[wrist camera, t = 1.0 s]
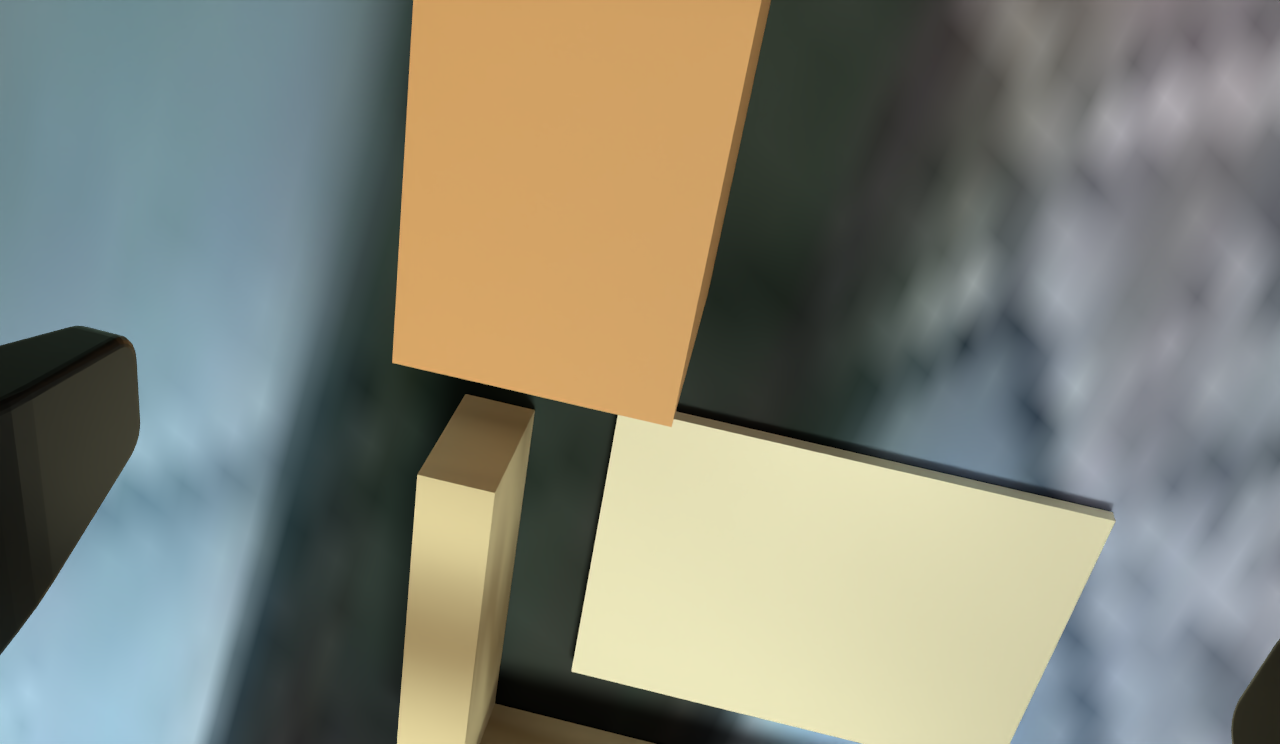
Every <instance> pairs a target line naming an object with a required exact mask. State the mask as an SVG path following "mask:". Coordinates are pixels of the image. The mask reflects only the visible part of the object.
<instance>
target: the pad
mask: <svg viewBox="0 0 1280 744" xmlns="http://www.w3.org/2000/svg"><path fill="white" fill-rule="evenodd" d="M1114 523H1115V518H1114V515H1113V512H1110V511H1105V510H1101V509H1097V508H1092V507H1088V506H1084V505H1079V504H1075V503H1071V502H1066V501H1062V500H1058V499H1053V498H1049V497H1045V496H1040V495H1036V494H1032V493H1027V492H1023V491H1019V490H1014V489H1010V488H1006V487H1001V486H997V485H993V484H989V483H984V482H980V481H976V480H971V479H967V478H963V477H958V476H954V475H950V474H945V473H941V472H937V471H932V470H928V469H924V468H919V467H915V466H911V465H906V464H902V463H898V462H893V461H889V460H885V459H880V458H876V457H872V456H867V455H863V454H859V453H854V452H850V451H846V450H841V449H837V448H833V447H828V446H824V445H820V444H815V443H811V442H807V441H802V440H798V439H794V438H789V437H785V436H781V435H776V434H772V433H768V432H763V431H759V430H755V429H750V428H746V427H742V426H737V425H733V424H729V423H724V422H720V421H716V420H711V419H707V418H703V417H698V416H694V415H690V414H685V413H681V412H677V411H676V412H675V416H674V420H673V423H672V427H669V426H665V425H660V424H656V423H652V422H647V421H643V420H639V419H634V418H630V417H626V416H621V415H618V417H617V422H616V428H615V433H614V439H613V445H612V450H611V456H610V461H609V467H608V472H607V478H606V483H605V489H604V494H603V500H602V505H601V511H600V516H599V522H598V527H597V533H596V538H595V544H594V549H593V555H592V560H591V566H590V571H589V577H588V582H587V588H586V593H585V599H584V605H583V610H582V616H581V621H580V627H579V632H578V638H577V643H576V649H575V654H574V660H573V665H572V672H576V673H580V674H584V675H588V676H592V677H596V678H600V679H604V680H608V681H612V682H616V683H620V684H624V685H628V686H632V687H636V688H640V689H644V690H648V691H652V692H657V693H661V694H665V695H669V696H673V697H677V698H681V699H685V700H689V701H693V702H697V703H701V704H705V705H709V706H713V707H717V708H721V709H725V710H729V711H733V712H737V713H741V714H745V715H749V716H753V717H757V718H762V719H766V720H770V721H774V722H778V723H782V724H786V725H790V726H794V727H798V728H802V729H806V730H810V731H814V732H818V733H822V734H826V735H830V736H834V737H838V738H842V739H846V740H850V741H854V742H858V743H862V744H1010V742H1011V740H1012V738H1013V735H1014V733H1015V731H1016V729H1017V727H1018V725H1019V723H1020V721H1021V719H1022V717H1023V714H1024V712H1025V710H1026V708H1027V706H1028V704H1029V702H1030V700H1031V698H1032V696H1033V693H1034V691H1035V689H1036V687H1037V685H1038V683H1039V681H1040V679H1041V677H1042V675H1043V672H1044V670H1045V668H1046V666H1047V664H1048V662H1049V660H1050V658H1051V656H1052V654H1053V651H1054V649H1055V647H1056V645H1057V643H1058V641H1059V639H1060V637H1061V635H1062V633H1063V630H1064V628H1065V626H1066V624H1067V622H1068V620H1069V618H1070V616H1071V614H1072V612H1073V609H1074V607H1075V605H1076V603H1077V601H1078V599H1079V597H1080V595H1081V593H1082V591H1083V588H1084V586H1085V584H1086V582H1087V580H1088V578H1089V576H1090V574H1091V572H1092V570H1093V567H1094V565H1095V563H1096V561H1097V559H1098V557H1099V555H1100V553H1101V551H1102V549H1103V546H1104V544H1105V542H1106V540H1107V538H1108V536H1109V534H1110V532H1111V530H1112V528H1113V525H1114Z"/></svg>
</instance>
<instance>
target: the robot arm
mask: <svg viewBox="0 0 1280 744" xmlns="http://www.w3.org/2000/svg"><path fill="white" fill-rule="evenodd" d="M139 429H140V413H139V396H138V379H137V361H136V354H135V350H134V347H133V345H132V343H131V342H130V341H129V340H128V339H127V338H126V337H124V336H121V335H117V334H113V333H109V332H105V331H101V330H97V329H93V328H89V327H84V326H73V327H68V328H65V329H61V330H57V331H53V332H50V333H46V334H42V335H38V336H35V337H31V338H27V339H23V340H20V341H16V342H12V343H8V344H5V345H1V346H0V655H1V653H2V652H3V651H4V649H5V648H6V647H7V646H8V644H9V643H10V642H11V641H12V639H13V638H14V637H15V635H16V634H17V633H18V632H19V630H20V629H21V627H22V626H23V625H24V623H25V622H26V621H27V619H28V618H29V617H30V615H31V614H32V613H33V611H34V610H35V609H36V607H37V606H38V604H39V603H40V601H41V600H42V598H43V597H44V595H45V594H46V592H47V591H48V589H49V588H50V586H51V585H52V583H53V582H54V580H55V578H56V577H57V575H58V574H59V572H60V570H61V569H62V567H63V565H64V564H65V562H66V561H67V559H68V557H69V556H70V554H71V552H72V551H73V549H74V548H75V546H76V544H77V543H78V541H79V539H80V538H81V536H82V535H83V533H84V531H85V530H86V528H87V526H88V525H89V523H90V522H91V520H92V518H93V517H94V515H95V513H96V512H97V510H98V509H99V507H100V505H101V504H102V502H103V500H104V499H105V497H106V496H107V494H108V492H109V491H110V489H111V487H112V486H113V484H114V483H115V481H116V479H117V478H118V476H119V474H120V473H121V471H122V470H123V468H124V466H125V465H126V463H127V461H128V460H129V458H130V456H131V455H132V453H133V451H134V448H135V446H136V443H137V440H138V436H139ZM1231 733H1232V744H1280V639H1279V641H1278V642H1277V643H1276V644H1275V646H1274V647H1273V649H1272V651H1271V652H1270V654H1269V655H1268V657H1267V658H1266V660H1265V661H1264V663H1263V664H1262V666H1261V667H1260V669H1259V670H1258V672H1257V673H1256V675H1255V676H1254V678H1253V679H1252V681H1251V682H1250V684H1249V685H1248V687H1247V689H1246V690H1245V692H1244V693H1243V695H1242V696H1241V698H1240V699H1239V701H1238V703H1237V705H1236V708H1235V711H1234V714H1233V719H1232V729H1231Z"/></svg>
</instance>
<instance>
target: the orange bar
mask: <svg viewBox="0 0 1280 744" xmlns="http://www.w3.org/2000/svg"><path fill="white" fill-rule="evenodd" d="M770 2H771V0H413V15H412V32H411V49H410V66H409V84H408V101H407V118H406V135H405V153H404V170H403V187H402V204H401V222H400V239H399V256H398V273H397V291H396V308H395V325H394V342H393V360H392V363H395V364H400V365H404V366H409V367H413V368H417V369H422V370H426V371H430V372H435V373H439V374H443V375H448V376H452V377H456V378H461V379H465V380H469V381H474V382H478V383H482V384H487V385H491V386H495V387H500V388H504V389H508V390H513V391H517V392H521V393H526V394H530V395H534V396H539V397H543V398H547V399H552V400H556V401H560V402H565V403H569V404H573V405H578V406H582V407H586V408H591V409H595V410H599V411H604V412H608V413H612V414H617V415H621V416H626V417H630V418H634V419H639V420H643V421H647V422H652V423H656V424H660V425H665V426H669V427H672V423H673V420H674V416H675V412H676V409H677V405H678V401H679V398H680V394H681V390H682V387H683V383H684V379H685V376H686V372H687V368H688V365H689V361H690V357H691V354H692V350H693V346H694V343H695V339H696V335H697V331H698V328H699V324H700V320H701V317H702V313H703V309H704V306H705V302H706V298H707V295H708V291H709V286H710V281H711V277H712V272H713V267H714V263H715V258H716V253H717V249H718V244H719V240H720V235H721V230H722V226H723V221H724V216H725V212H726V207H727V202H728V198H729V193H730V188H731V184H732V179H733V174H734V170H735V165H736V160H737V156H738V151H739V146H740V142H741V137H742V133H743V128H744V123H745V119H746V114H747V109H748V105H749V100H750V95H751V91H752V86H753V81H754V77H755V72H756V67H757V63H758V58H759V53H760V49H761V44H762V39H763V35H764V30H765V26H766V21H767V16H768V12H769V7H770Z"/></svg>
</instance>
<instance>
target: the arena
mask: <svg viewBox="0 0 1280 744" xmlns="http://www.w3.org/2000/svg"><path fill="white" fill-rule="evenodd" d="M534 413H535V410H533V409H528V408H524V407H520V406H515V405H511V404H507V403H503V402H498V401H494V400H490V399H485V398H481V397H477V396H473V395H468V394H465V396H464V397H463V399H462V401H461V402H460V404H459V406H458V407H457V409H456V411H455V412H454V414H453V416H452V417H451V419H450V421H449V422H448V424H447V426H446V427H445V429H444V431H443V433H442V434H441V436H440V438H439V439H438V441H437V443H436V444H435V446H434V448H433V449H432V451H431V453H430V454H429V456H428V458H427V459H426V461H425V463H424V464H423V466H422V468H421V469H420V471H419V473H418V475H417V487H416V500H415V513H414V526H413V539H412V553H411V566H410V579H409V592H408V605H407V619H406V632H405V645H404V658H403V671H402V684H401V698H400V711H399V724H398V737H397V744H655V743H651V742H647V741H643V740H639V739H635V738H631V737H627V736H623V735H619V734H615V733H611V732H607V731H603V730H599V729H595V728H591V727H587V726H583V725H579V724H575V723H571V722H567V721H563V720H559V719H555V718H551V717H547V716H543V715H539V714H535V713H531V712H527V711H523V710H519V709H515V708H511V707H507V706H503V705H499V704H495V699H496V692H497V685H498V677H499V670H500V663H501V655H502V648H503V641H504V633H505V626H506V619H507V611H508V604H509V597H510V589H511V582H512V575H513V567H514V560H515V553H516V545H517V538H518V531H519V523H520V516H521V509H522V501H523V494H524V487H525V479H526V472H527V464H528V457H529V450H530V442H531V435H532V428H533V420H534Z"/></svg>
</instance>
